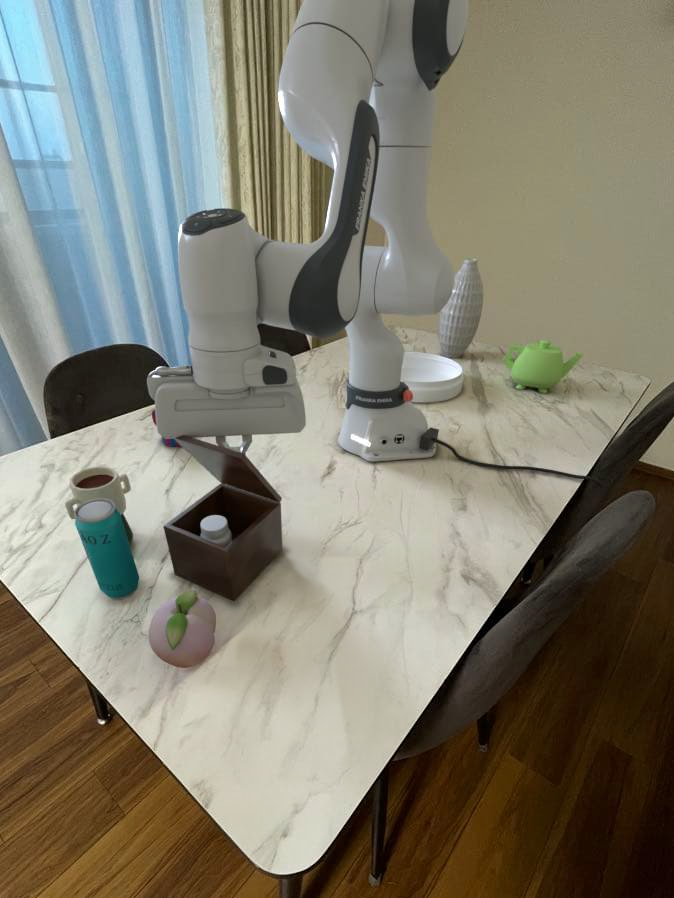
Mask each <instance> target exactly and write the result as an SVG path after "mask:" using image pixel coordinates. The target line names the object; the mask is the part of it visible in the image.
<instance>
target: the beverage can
mask: <svg viewBox="0 0 674 898" xmlns="http://www.w3.org/2000/svg"><path fill="white" fill-rule="evenodd" d="M74 516H75V518H76V519H74V525H75V528H76V530H77V533H78V535H79V538H80V540H81V543H82V546H83V549H84V552H85V554H86V557H87V559H88V562H89V564H90V567H91V570H92V572H93V575H94V577H95V580H96V582H97V585H98V587H99V590H100V591H101V592H102V593H103V594H104V595H105V596H107V598H109V599H112V600H117V601H119V600H125V599H128V598H129V597H131V596H133V595H134V594H135V593H136V592H137V590H138V587H139V583H140V575H139V570H138V568H137V564H136V561H135V557H134V554H133V551H132V548H131V543H130V544H129V541H128V538H127V534H126V531H125V528H124V524H123V521H122V518H121V514H120V512H119V510H118V509H117V508H116V506H115V504H114V502H113V501H111V500H109V499H93V500H89V501H86V502H84V503H82V504H81V505H79V506H78V507H77V506H76V508H75V509H74Z"/></svg>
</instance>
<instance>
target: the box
mask: <svg viewBox="0 0 674 898" xmlns="http://www.w3.org/2000/svg"><path fill="white" fill-rule="evenodd" d="M211 515H220V516H223V517H225V518H226V520H227V523H228V528H229V530H230V531H231V534H232V543H230V544H229V545H228V546H227V547H224V546H222V545H219V544H217V543H215V542H212V541H210V540H207V539H205V538H202V537H200V534H201V526H200V523H201V521H202V520H203V519H204V518H206V517H208V516H211ZM282 523H283V522H282V503H281V502H280V503H279V502H276V501H273V500H270V499H267V498H264V497H262V496H259V495H256V494H253V493H250V492H247V491H244V490H241V489H238V488H235V487H232V486H229V485H226V484H223V483H219V484H218V485H216V486H215V487H214V488H212V489H211V490H210V491H208V492H207V493H206V494H204V495H203V496H201V498H198V499H197V500H196V501H195V502H193V503H192V504H191V505H189V506H188V507H186V508H185V509H184V510H183V511H181V512H180V513H179V514H177V515H176V516H175V517H173V518H172V519H170V520H169V521H168V522H166V523H165V524H164V525H163V526H162V527H163V530H164V531H163V532H164V535H165V539H166V543H167V547H168V548H167V549H168V552H169V557H170V560H171V565H172V569H173V573H174V576H176V577H177V578H179V579H183V580H185V581H187V582H189V583H191V584H193V585H195V586H198V587H200V588H202V589H205V590H206V591H209V592H210V593H212V594H215V595H217V596H220V597H222V598H224V599H226V600H229V601H231V602H233V603H234V602H235V601H237V599H239V597H240V596H241V595H242V594H243V593H244V592H245V591H246V590H247V589H248V588H249V587H250V586H251V585H252V584H253V583H254V581H255V580H257V578H259V576H260V575H261V574H263V572H264V571H265V570H266V569H267V568H268V567H269V566H270V565H271V564H272V563H273V562H274V561H275V559H277V557H278V556H279V555H281V554H282V552H283V527H282Z"/></svg>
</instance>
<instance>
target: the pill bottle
mask: <svg viewBox="0 0 674 898" xmlns="http://www.w3.org/2000/svg"><path fill="white" fill-rule="evenodd" d="M200 526H201V534H200V537H202V538H205V539H207V540H210V541H212V542H215V543H217V544H219V545H222V546H224V547H227V546H228V545H229V544H230V543H232V534H231V531H230V530H229V528H228V523H227V520H226V518H225V517H223V516H220V515H211V516H208V517H206V518H204V519H203V520H202V521H201V523H200Z"/></svg>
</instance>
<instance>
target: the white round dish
mask: <svg viewBox="0 0 674 898" xmlns="http://www.w3.org/2000/svg"><path fill="white" fill-rule="evenodd" d="M403 381H404V382H405V384H406V385H407V386H408V387H409V390H410V391H412V394H413V400H411V401H410V402H411V403H417V404H418V403H420V404H422V403H423V404H424V403H425V404H427V403H429V404H430V403H438V402H444V401H448V400H451V399H454V398H456V397H457V396H458V395H459V394H460V393H461V391H462V388H463V383H464V374H463V368H462V366H461V365H460V364H459V363H458V362H457V361H455V360H453V359H450V358H449V357H446V356H442V355H438V354H433V353H429V352H428V353H427V352H417V351H404V359H403V366H402V374H401V382H403Z"/></svg>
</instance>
